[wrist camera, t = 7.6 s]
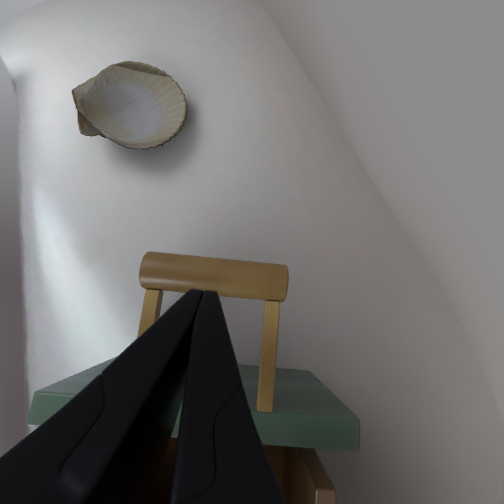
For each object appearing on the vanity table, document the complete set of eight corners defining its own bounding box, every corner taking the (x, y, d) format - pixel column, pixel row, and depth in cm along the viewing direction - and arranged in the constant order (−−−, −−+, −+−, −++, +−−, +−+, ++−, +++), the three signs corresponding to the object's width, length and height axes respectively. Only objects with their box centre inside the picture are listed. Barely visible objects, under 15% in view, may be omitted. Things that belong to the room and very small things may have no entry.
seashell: (193, 159, 23) (178, 69, 22) (194, 146, 20) (177, 41, 19) (91, 166, 21) (73, 66, 20) (76, 152, 18) (54, 35, 17)
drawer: (138, 267, 18) (60, 239, 10) (313, 284, 18) (368, 270, 11) (73, 613, 14) (-138, 1007, 6) (298, 626, 14) (369, 1013, 7)
